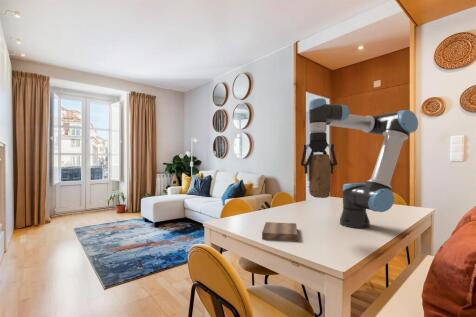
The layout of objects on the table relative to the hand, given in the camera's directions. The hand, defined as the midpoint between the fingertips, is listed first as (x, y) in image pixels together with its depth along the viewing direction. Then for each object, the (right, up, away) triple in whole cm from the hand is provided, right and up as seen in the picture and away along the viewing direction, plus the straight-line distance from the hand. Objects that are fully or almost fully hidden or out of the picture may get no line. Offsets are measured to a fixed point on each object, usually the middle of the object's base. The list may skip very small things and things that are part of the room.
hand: (318, 180), depth 116 cm
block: (0, -8, 0) cm, 8 cm away
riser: (-17, -27, +7) cm, 33 cm away
